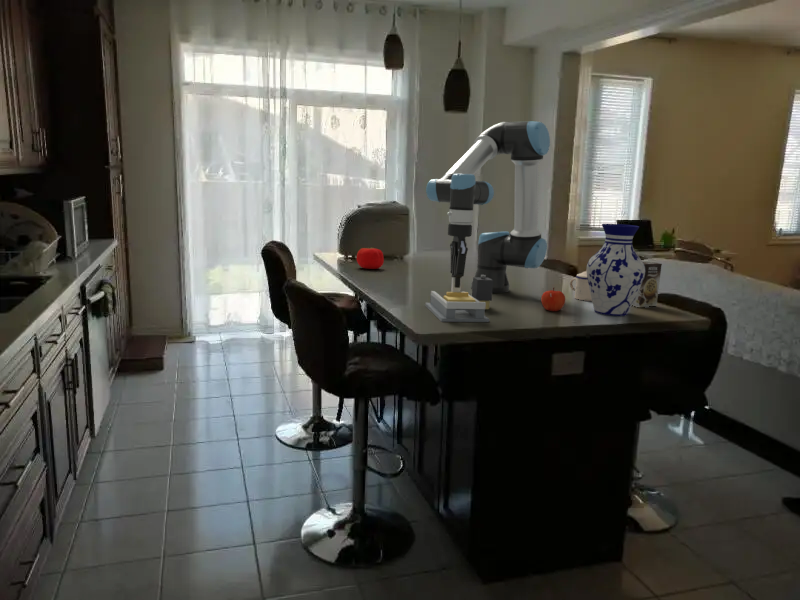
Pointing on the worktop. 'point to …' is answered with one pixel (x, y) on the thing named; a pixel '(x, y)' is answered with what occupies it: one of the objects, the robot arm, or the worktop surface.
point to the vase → (615, 271)
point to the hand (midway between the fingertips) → (455, 296)
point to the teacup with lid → (581, 287)
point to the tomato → (370, 258)
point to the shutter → (458, 297)
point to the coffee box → (649, 286)
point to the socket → (456, 310)
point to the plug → (482, 289)
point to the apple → (553, 300)
